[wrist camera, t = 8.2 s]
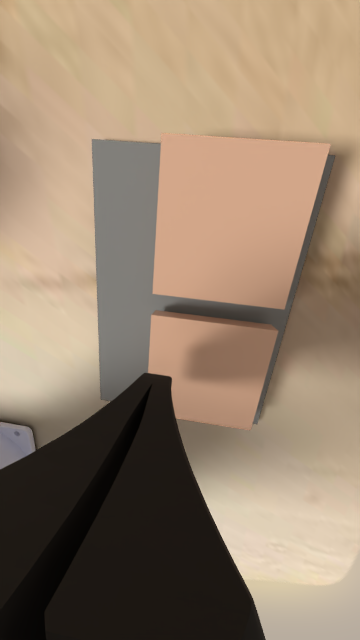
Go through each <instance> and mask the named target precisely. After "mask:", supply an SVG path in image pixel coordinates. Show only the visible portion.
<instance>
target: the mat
mask: <svg viewBox="0 0 360 640" xmlns="http://www.w3.org/2000/svg"><path fill="white" fill-rule="evenodd" d="M160 151H161V144H157V143H142V142H127V141H113V140H98V139H92V158H93V187H94V216H95V245H96V275H97V304H98V333H99V362H100V391H101V400H107V401H112V400H113V399H115V398H116V397H117V396H118V395H119V394H121V393H122V392H123V391H124V390H125V389H127V388H128V387H129V386H130V385H131V384H132V383H133V382H134V381H135V380H137V379H138V378H139V377H140V376H141V375H142V374H143V373H148V365H149V347H150V329H151V315H152V314H153V312H154V311H155V310H159V311H167V312H175V313H183V314H191V315H199V316H207V317H215V318H223V319H231V320H239V321H247V322H255V323H263V324H271V325H272V326H273V327H275V328H276V329H277V330H278V334H277V338H276V341H275V345H274V349H273V352H272V356H271V359H270V363H269V366H268V370H267V374H266V377H265V381H264V384H263V388H262V391H261V395H260V399H259V402H258V406H257V409H256V413H255V416H254V420H253V424H257V423H258V420H259V417H260V413H261V410H262V406H263V403H264V399H265V396H266V393H267V389H268V386H269V382H270V379H271V375H272V372H273V368H274V365H275V362H276V358H277V355H278V351H279V348H280V344H281V341H282V338H283V334H284V331H285V327H286V324H287V320H288V317H289V313H290V310H291V307H292V303H293V300H294V296H295V293H296V289H297V286H298V282H299V279H300V276H301V272H302V269H303V265H304V262H305V258H306V255H307V252H308V248H309V245H310V241H311V238H312V234H313V231H314V227H315V224H316V221H317V217H318V214H319V210H320V207H321V203H322V200H323V196H324V193H325V190H326V186H327V183H328V179H329V176H330V172H331V169H332V166H333V162H334V159H335V156H334V155H328V156H327V159H326V163H325V167H324V170H323V174H322V177H321V181H320V184H319V188H318V191H317V195H316V199H315V202H314V206H313V209H312V213H311V216H310V220H309V224H308V227H307V231H306V234H305V238H304V241H303V245H302V249H301V252H300V256H299V259H298V263H297V266H296V270H295V274H294V277H293V281H292V284H291V288H290V291H289V295H288V299H287V302H286V306H285V309H276V308H267V307H259V306H251V305H242V304H234V303H225V302H217V301H209V300H200V299H192V298H183V297H175V296H167V295H158V294H152V293H153V275H154V258H155V240H156V222H157V205H158V187H159V169H160Z"/></svg>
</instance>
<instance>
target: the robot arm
mask: <svg viewBox="0 0 360 640" xmlns="http://www.w3.org/2000/svg"><path fill="white" fill-rule="evenodd" d="M171 386H172V378H171V377H170V376H165V375H158V374H151V373H143V374H142V375H141V376H140V377H139V378H138V379H137V380H135V381H134V382H133V383H132V384H131V385H130V386H129V387H128V388H127V389H125V390H124V391H123V392H122V393H121V394H119V395H118V396H117V397H116V398H115V399H113V400H112V401H111V402H110V403H108V404H107V405H106V406H104V407H103V408H102V409H101V410H99V411H98V412H97V413H95V414H94V415H93V416H91V417H90V418H88V419H87V420H85V421H84V422H82V423H81V424H80V425H78V426H76V427H75V428H73V429H72V430H70V431H69V432H67V433H66V434H64V435H62V436H61V437H59V438H57V439H55V440H54V441H52V442H50V443H48V444H47V445H45V446H43V447H41V448H40V449H38V450H36V449H35V444H34V438H33V433H32V430H31V429H30V428H29V427H27V426H22V425H16V424H10V423H4V422H0V640H266V639H265V636H264V633H263V629H262V626H261V623H260V620H259V616H258V613H257V610H256V607H255V604H254V601H253V598H252V596H251V594H250V592H249V590H248V588H247V586H246V584H245V582H244V580H243V578H242V576H241V574H240V572H239V570H238V569H237V567H236V565H235V563H234V561H233V559H232V557H231V555H230V553H229V551H228V549H227V547H226V545H225V543H224V541H223V539H222V537H221V535H220V533H219V530H218V528H217V526H216V524H215V522H214V520H213V518H212V516H211V513H210V511H209V509H208V507H207V505H206V502H205V500H204V498H203V495H202V493H201V490H200V488H199V486H198V483H197V481H196V479H195V476H194V474H193V471H192V469H191V466H190V463H189V461H188V458H187V455H186V452H185V449H184V446H183V443H182V440H181V436H180V433H179V429H178V425H177V421H176V417H175V413H174V407H173V401H172V392H171Z"/></svg>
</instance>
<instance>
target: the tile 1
mask: <svg viewBox="0 0 360 640" xmlns="http://www.w3.org/2000/svg"><path fill="white" fill-rule="evenodd" d="M277 334H278V330H277V329H276V328H275V327H273V326H272V325H271V324H263V323H255V322H247V321H239V320H231V319H223V318H215V317H207V316H199V315H191V314H183V313H175V312H167V311H159V310H155V311H154V312H153V314H152V315H151V329H150V347H149V365H148V373H151V374H158V375H165V376H170V377H171V378H172V386H171V392H172V401H173V407H174V413H175V417H176V419H182V420H189V421H195V422H201V423H207V424H213V425H220V426H226V427H232V428H238V429H245V430H251V427H252V424H253V420H254V416H255V413H256V409H257V406H258V402H259V399H260V395H261V391H262V388H263V384H264V381H265V377H266V374H267V370H268V366H269V363H270V359H271V356H272V352H273V349H274V345H275V341H276V338H277Z"/></svg>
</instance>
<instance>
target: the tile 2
mask: <svg viewBox="0 0 360 640" xmlns="http://www.w3.org/2000/svg"><path fill="white" fill-rule="evenodd" d="M330 145H331V144H327V143H311V142H295V141H280V140H264V139H248V138H233V137H217V136H202V135H186V134H170V133H162V134H161V151H160V169H159V187H158V205H157V222H156V240H155V258H154V275H153V293H152V294H158V295H167V296H175V297H183V298H192V299H200V300H209V301H217V302H225V303H234V304H242V305H251V306H259V307H267V308H276V309H285V306H286V302H287V299H288V295H289V291H290V288H291V284H292V281H293V277H294V274H295V270H296V266H297V263H298V259H299V256H300V252H301V249H302V245H303V241H304V238H305V234H306V231H307V227H308V224H309V220H310V216H311V213H312V209H313V206H314V202H315V199H316V195H317V191H318V188H319V184H320V181H321V177H322V174H323V170H324V167H325V163H326V159H327V156H328V152H329V149H330Z"/></svg>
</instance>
